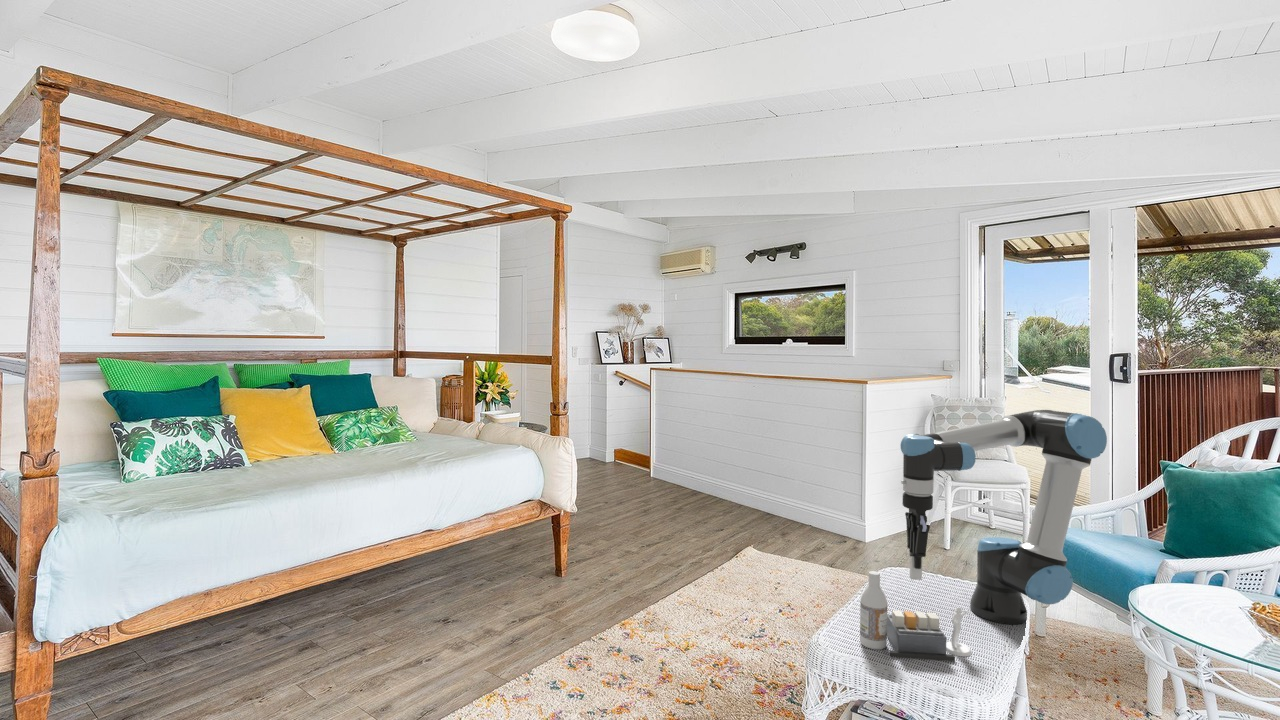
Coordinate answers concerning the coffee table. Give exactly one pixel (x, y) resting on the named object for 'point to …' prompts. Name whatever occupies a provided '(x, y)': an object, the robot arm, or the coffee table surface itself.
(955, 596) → the coffee table surface
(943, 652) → the breaker panel
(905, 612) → the paddle
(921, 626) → the paddle
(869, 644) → the bath foam
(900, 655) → the dark grey slat
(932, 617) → the cream rectangular block
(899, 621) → the cream small block
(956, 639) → the figurine
